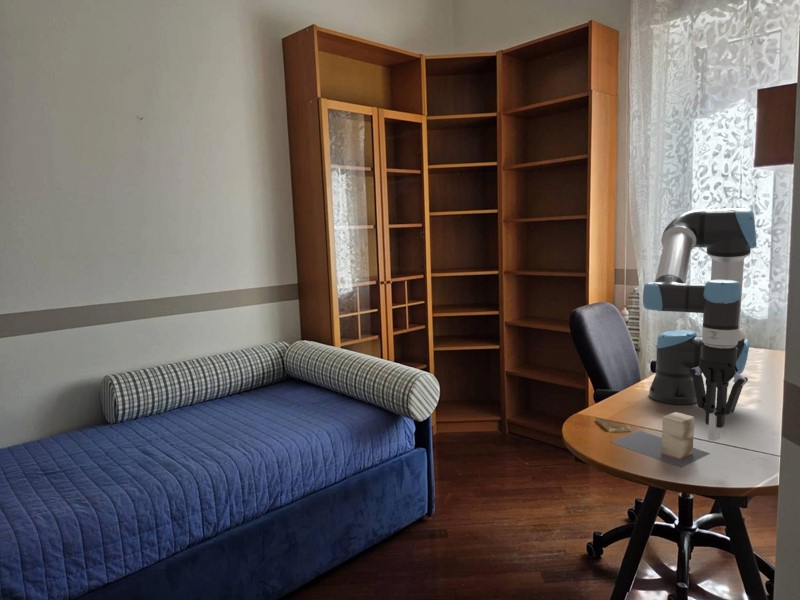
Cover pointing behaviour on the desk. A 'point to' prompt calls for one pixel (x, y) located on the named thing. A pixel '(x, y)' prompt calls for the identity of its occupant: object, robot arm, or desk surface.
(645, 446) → the rubber mat
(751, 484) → the desk surface
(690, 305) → the robot arm
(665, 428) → the birch block
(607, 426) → the shard
